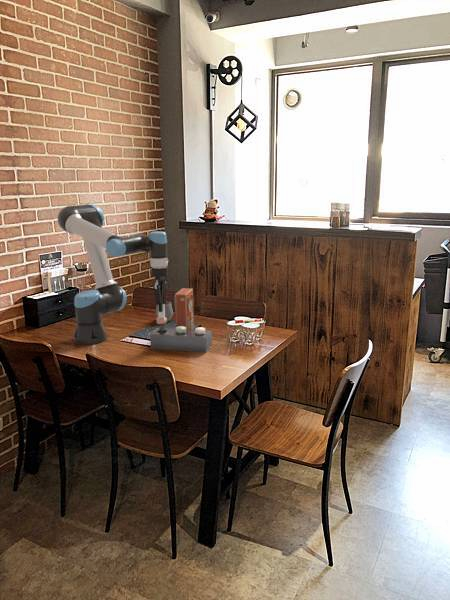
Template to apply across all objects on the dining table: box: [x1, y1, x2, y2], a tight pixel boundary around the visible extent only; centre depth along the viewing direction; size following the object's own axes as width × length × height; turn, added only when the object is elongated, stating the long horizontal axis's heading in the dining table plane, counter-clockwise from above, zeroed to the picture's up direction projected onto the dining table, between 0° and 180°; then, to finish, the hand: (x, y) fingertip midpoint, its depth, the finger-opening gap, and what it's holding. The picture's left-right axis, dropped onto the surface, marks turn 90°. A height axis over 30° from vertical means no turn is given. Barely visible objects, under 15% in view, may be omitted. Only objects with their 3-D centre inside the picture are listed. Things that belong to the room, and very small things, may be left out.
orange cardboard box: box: [174, 287, 195, 330], centre depth 246 cm, size 21×7×15 cm
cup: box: [155, 300, 174, 322], centre depth 269 cm, size 10×9×10 cm
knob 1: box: [156, 317, 168, 333], centre depth 228 cm, size 5×5×8 cm
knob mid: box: [175, 326, 186, 334], centre depth 228 cm, size 5×5×8 cm
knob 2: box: [194, 326, 206, 335], centre depth 226 cm, size 5×5×8 cm
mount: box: [149, 327, 213, 353], centre depth 228 cm, size 26×10×7 cm, turn 78°
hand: (161, 317), depth 227 cm, fingers closed
